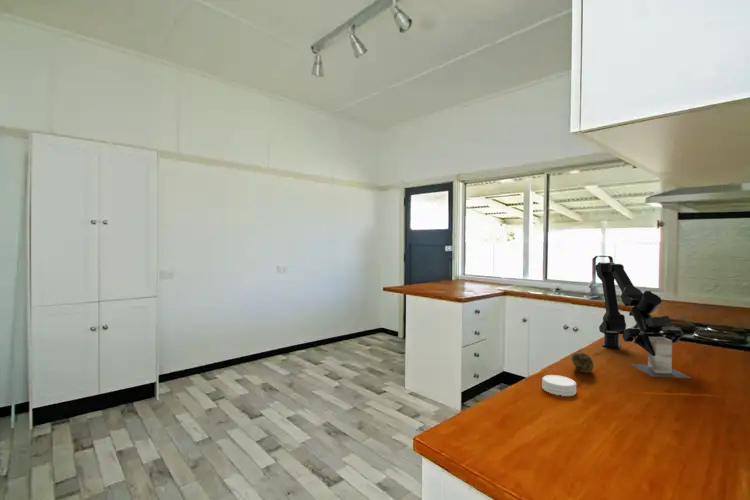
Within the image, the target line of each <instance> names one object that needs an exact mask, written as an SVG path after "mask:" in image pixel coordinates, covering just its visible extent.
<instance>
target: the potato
mask: <svg viewBox="0 0 750 500" xmlns="http://www.w3.org/2000/svg"><path fill="white" fill-rule="evenodd" d="M570 360H571V362H572V364H573V366H574V367H575V369H576V370H578V371H580V372H582V373H585V374H588V373H591V372H592V371H593V369H594V366H595V365H594V362H593V360H592V358H591V356H590V355H589V354H588V353H585V352H581V351H580V352H579V351H578V352H575V353H574V354H572V355H571V357H570Z"/></svg>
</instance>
